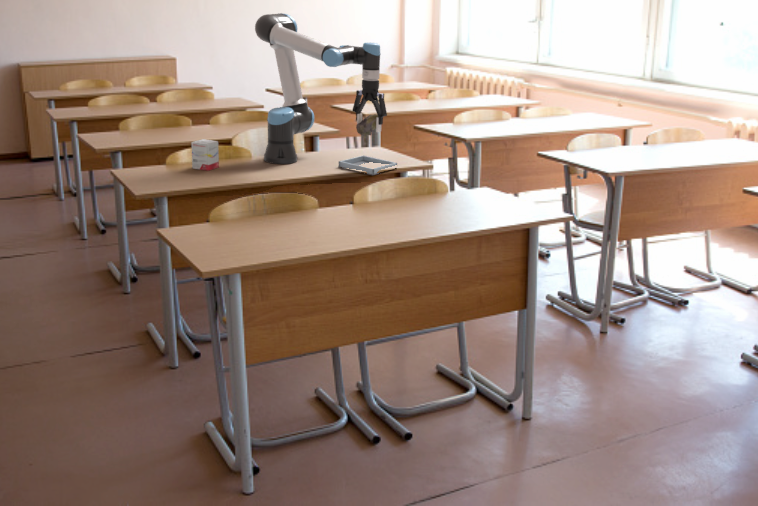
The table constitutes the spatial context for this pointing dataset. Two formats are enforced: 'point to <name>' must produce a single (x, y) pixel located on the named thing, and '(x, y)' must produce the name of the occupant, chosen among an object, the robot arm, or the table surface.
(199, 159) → the ink box
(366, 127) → the rock
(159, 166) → the table surface
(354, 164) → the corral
